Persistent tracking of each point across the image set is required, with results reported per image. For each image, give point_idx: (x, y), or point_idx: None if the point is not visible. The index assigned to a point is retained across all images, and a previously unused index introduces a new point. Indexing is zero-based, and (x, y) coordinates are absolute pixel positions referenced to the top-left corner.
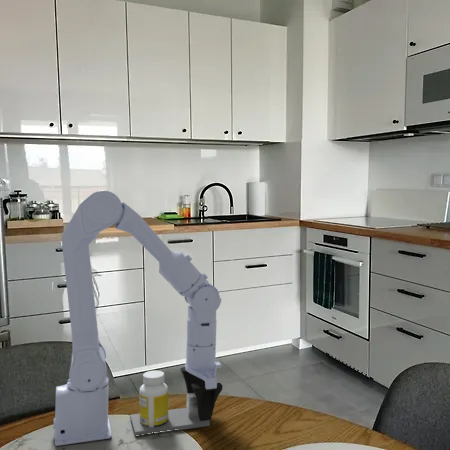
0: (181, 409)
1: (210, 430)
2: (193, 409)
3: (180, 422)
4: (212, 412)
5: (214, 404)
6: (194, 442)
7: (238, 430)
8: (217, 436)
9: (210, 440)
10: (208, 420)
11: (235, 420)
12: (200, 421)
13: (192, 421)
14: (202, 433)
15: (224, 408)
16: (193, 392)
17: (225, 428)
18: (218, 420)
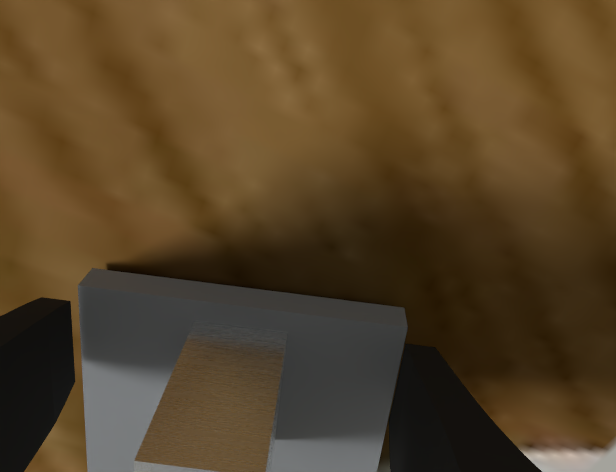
0: (108, 433)
1: (457, 317)
2: (270, 459)
3: None
4: (459, 381)
5: (511, 444)
6: (552, 467)
7: (589, 105)
8: (572, 309)
9: (593, 374)
10: (381, 327)
11: (397, 34)
12: (369, 387)
13: (342, 436)
14: (468, 383)
15: (102, 18)
16: (10, 434)
17: (491, 197)
18: (326, 189)
